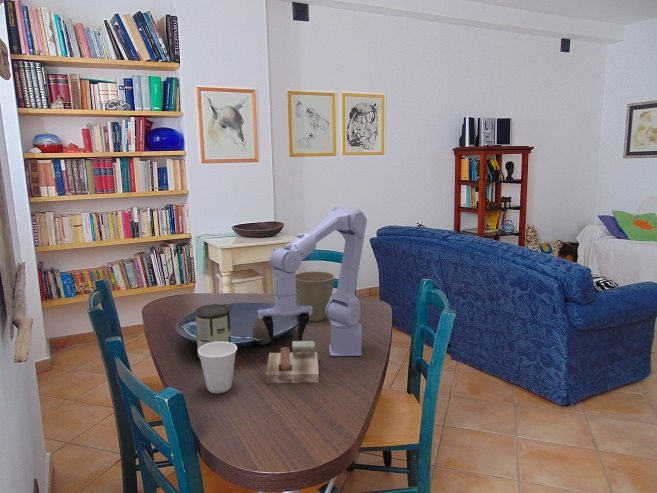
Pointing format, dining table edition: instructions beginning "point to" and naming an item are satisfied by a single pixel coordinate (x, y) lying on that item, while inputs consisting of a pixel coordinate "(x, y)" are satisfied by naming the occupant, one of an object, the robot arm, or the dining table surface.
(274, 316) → the robot arm
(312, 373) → the socket board
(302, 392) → the dining table surface
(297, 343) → the pale green box
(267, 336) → the vase
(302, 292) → the plant pot
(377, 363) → the dining table surface
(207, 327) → the coffee can
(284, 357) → the peg
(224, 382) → the cup
